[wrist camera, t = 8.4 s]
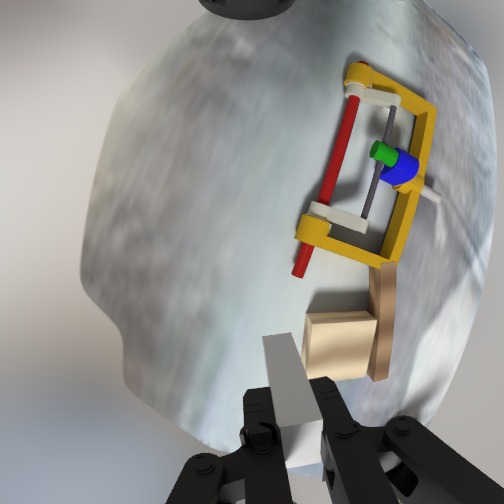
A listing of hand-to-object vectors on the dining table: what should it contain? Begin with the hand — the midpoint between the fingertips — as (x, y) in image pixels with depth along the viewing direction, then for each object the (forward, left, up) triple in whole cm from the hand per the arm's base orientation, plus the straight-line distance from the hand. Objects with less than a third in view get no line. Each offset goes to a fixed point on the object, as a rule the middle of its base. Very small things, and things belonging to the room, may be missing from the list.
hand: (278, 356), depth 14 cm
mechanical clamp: (-9, +18, -21) cm, 30 cm away
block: (+12, +10, -22) cm, 27 cm away
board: (+10, +17, -21) cm, 29 cm away
